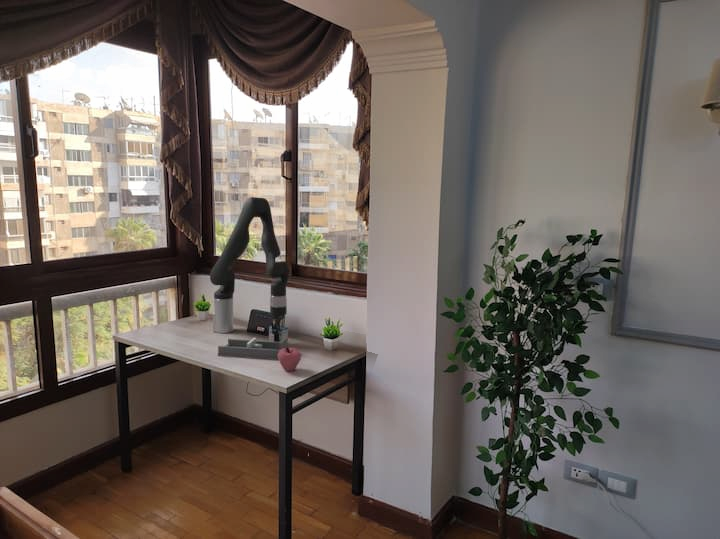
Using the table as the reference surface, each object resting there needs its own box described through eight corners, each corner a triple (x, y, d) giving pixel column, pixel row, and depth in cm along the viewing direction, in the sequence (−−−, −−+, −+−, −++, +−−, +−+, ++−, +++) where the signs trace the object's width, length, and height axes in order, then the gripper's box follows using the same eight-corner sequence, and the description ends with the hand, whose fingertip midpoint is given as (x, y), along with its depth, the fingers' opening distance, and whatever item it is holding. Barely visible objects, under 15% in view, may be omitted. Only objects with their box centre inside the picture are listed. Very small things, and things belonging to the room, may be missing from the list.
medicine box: (268, 345, 247) (268, 327, 246) (274, 342, 251) (274, 325, 250) (282, 347, 244) (282, 329, 242) (288, 345, 248) (288, 327, 246)
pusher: (246, 353, 230) (246, 343, 230) (253, 347, 239) (253, 337, 239) (258, 354, 230) (258, 344, 229) (265, 347, 239) (265, 338, 238)
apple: (303, 372, 212) (303, 348, 211) (282, 375, 208) (282, 350, 207) (294, 365, 221) (295, 341, 219) (274, 367, 217) (274, 344, 215)
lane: (218, 355, 230) (217, 340, 229) (229, 347, 243) (229, 332, 242) (280, 359, 227) (280, 344, 225) (288, 350, 239) (288, 335, 238)
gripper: (275, 301, 252) (275, 335, 255) (265, 307, 238) (265, 344, 241) (290, 301, 251) (290, 336, 254) (281, 308, 237) (281, 345, 240)
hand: (278, 339), depth 247 cm, fingers closed on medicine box, 5 cm apart
